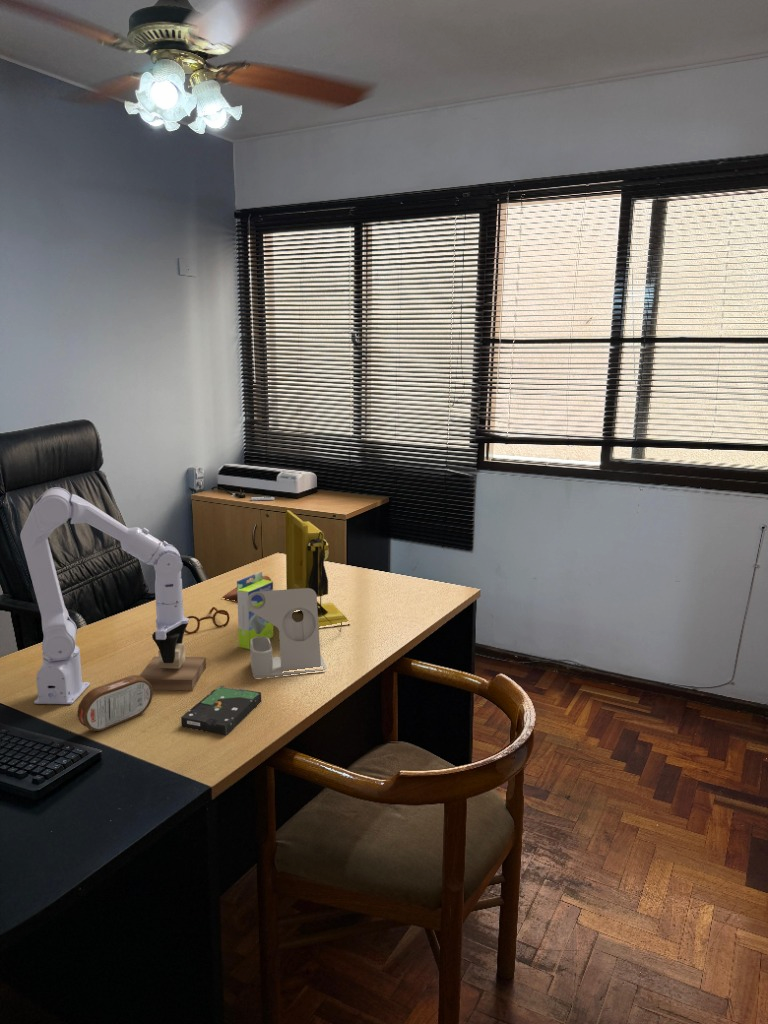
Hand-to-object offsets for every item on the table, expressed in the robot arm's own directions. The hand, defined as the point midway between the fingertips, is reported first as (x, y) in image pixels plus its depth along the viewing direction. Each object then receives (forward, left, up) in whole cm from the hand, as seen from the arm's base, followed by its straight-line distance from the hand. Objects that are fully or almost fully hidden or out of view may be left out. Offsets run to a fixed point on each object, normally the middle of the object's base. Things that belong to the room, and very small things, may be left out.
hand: (171, 657), depth 158 cm
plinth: (0, 0, -5) cm, 5 cm away
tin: (-20, +5, -5) cm, 21 cm away
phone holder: (+7, -25, -5) cm, 26 cm away
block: (0, 0, -2) cm, 2 cm away
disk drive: (-16, -15, -6) cm, 23 cm away
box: (+22, -15, -5) cm, 27 cm away
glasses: (+35, +3, -6) cm, 35 cm away
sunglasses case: (+61, -5, -6) cm, 62 cm away
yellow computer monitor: (+38, -30, -5) cm, 49 cm away
